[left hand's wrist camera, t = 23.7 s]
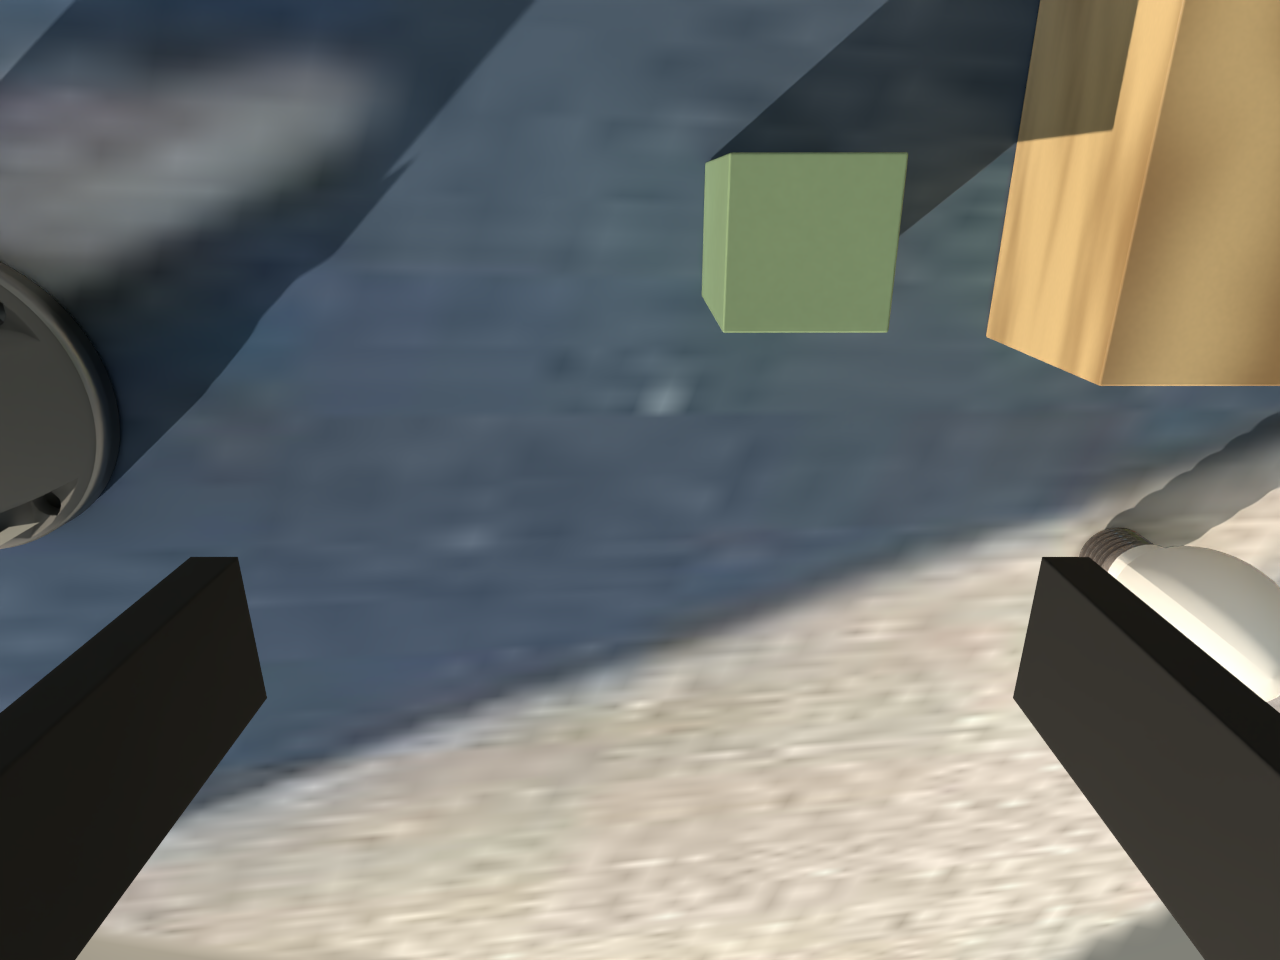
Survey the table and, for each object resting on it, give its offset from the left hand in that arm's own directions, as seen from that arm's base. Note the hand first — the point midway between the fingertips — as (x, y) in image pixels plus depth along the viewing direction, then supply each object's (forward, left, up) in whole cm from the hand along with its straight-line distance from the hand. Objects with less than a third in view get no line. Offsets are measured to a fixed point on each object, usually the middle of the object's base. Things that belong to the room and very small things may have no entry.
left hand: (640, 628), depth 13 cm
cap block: (+6, +5, -27) cm, 28 cm away
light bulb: (+26, -12, -27) cm, 39 cm away
